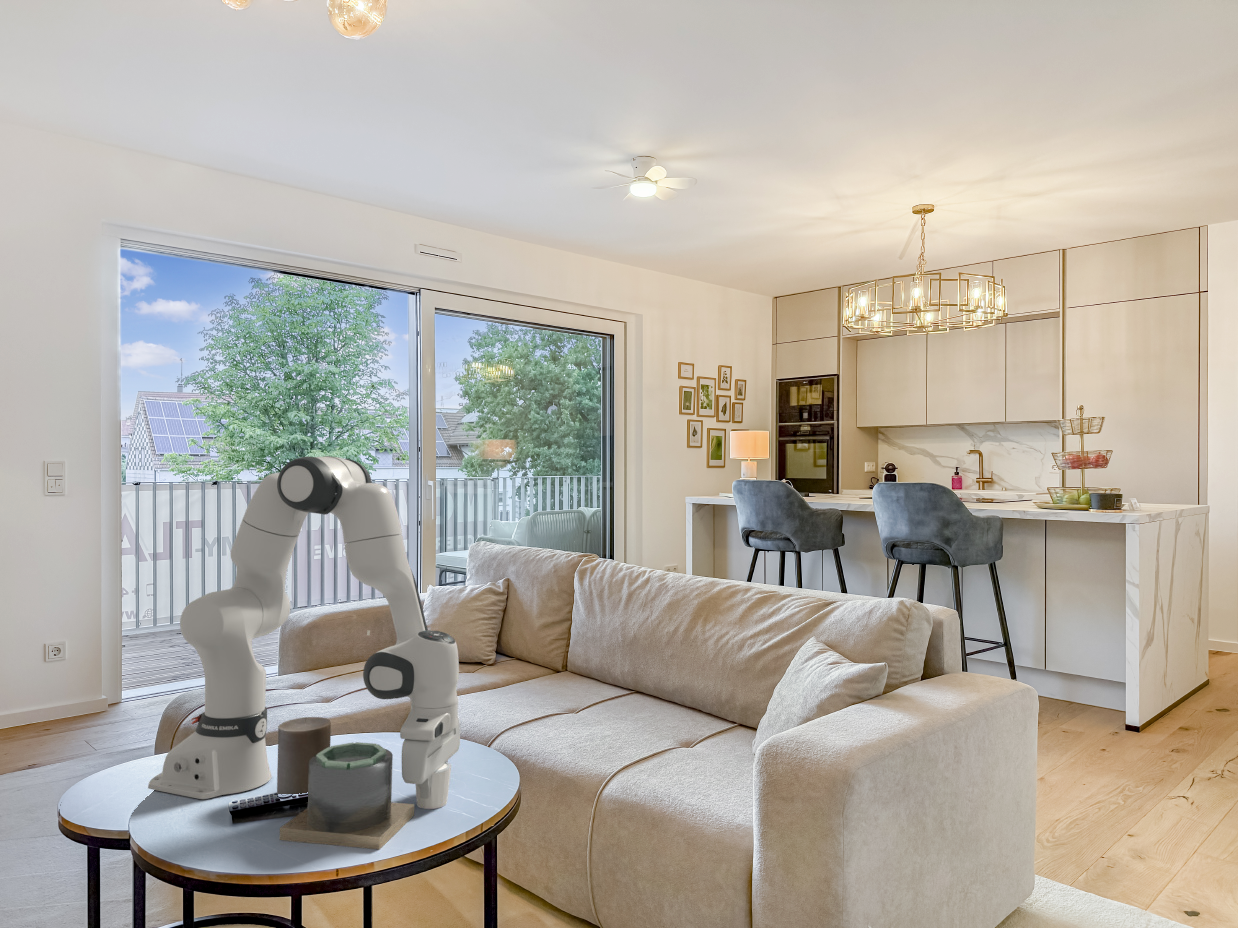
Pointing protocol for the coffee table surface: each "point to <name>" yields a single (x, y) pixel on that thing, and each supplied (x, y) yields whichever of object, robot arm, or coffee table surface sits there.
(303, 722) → the pillar candle
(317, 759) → the green-rimmed dark canister
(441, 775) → the white cylinder
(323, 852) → the coffee table surface
